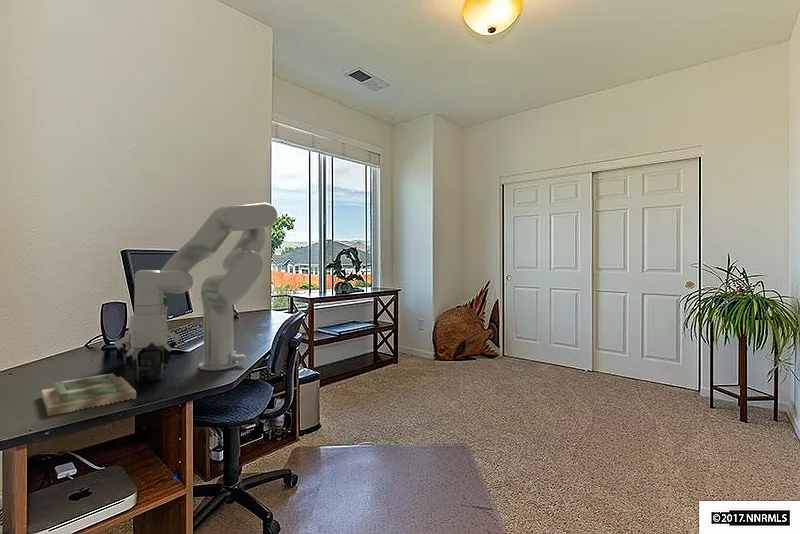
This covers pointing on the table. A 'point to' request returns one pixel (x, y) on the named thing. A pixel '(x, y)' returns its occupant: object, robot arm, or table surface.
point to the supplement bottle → (149, 364)
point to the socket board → (86, 393)
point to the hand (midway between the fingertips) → (148, 365)
